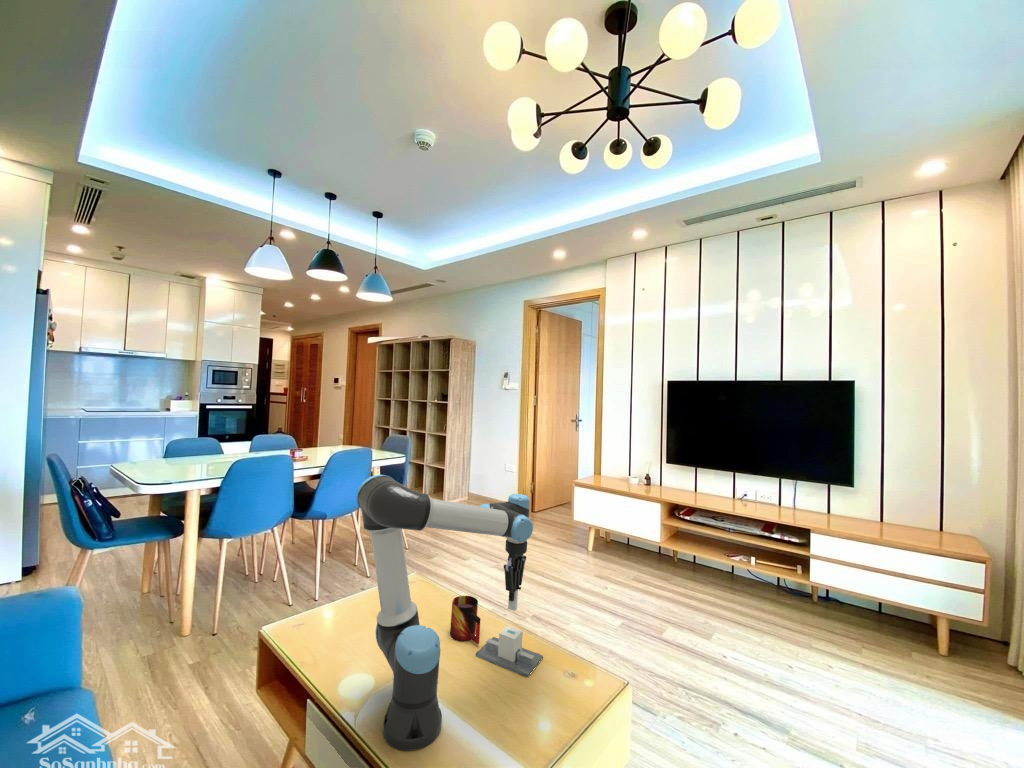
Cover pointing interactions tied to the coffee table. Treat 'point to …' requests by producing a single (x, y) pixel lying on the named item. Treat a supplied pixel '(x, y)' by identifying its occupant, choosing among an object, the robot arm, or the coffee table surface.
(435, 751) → the coffee table surface
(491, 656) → the rail plate
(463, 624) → the mug
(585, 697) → the coffee table surface
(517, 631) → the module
